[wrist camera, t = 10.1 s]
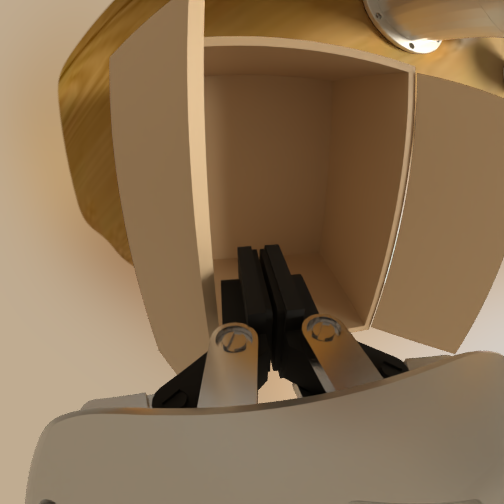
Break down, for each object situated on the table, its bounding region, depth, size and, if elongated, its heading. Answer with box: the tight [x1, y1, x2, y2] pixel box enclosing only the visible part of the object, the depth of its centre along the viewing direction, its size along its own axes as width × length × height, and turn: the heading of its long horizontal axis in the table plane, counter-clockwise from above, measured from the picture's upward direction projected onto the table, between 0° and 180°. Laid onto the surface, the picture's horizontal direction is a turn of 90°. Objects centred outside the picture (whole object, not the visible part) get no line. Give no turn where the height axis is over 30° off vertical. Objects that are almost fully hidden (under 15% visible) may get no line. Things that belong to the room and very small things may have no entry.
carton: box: [204, 36, 415, 333], centre depth 23 cm, size 22×18×14 cm
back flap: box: [371, 73, 504, 354], centre depth 16 cm, size 21×9×1 cm
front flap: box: [109, 0, 219, 375], centre depth 13 cm, size 21×9×1 cm
